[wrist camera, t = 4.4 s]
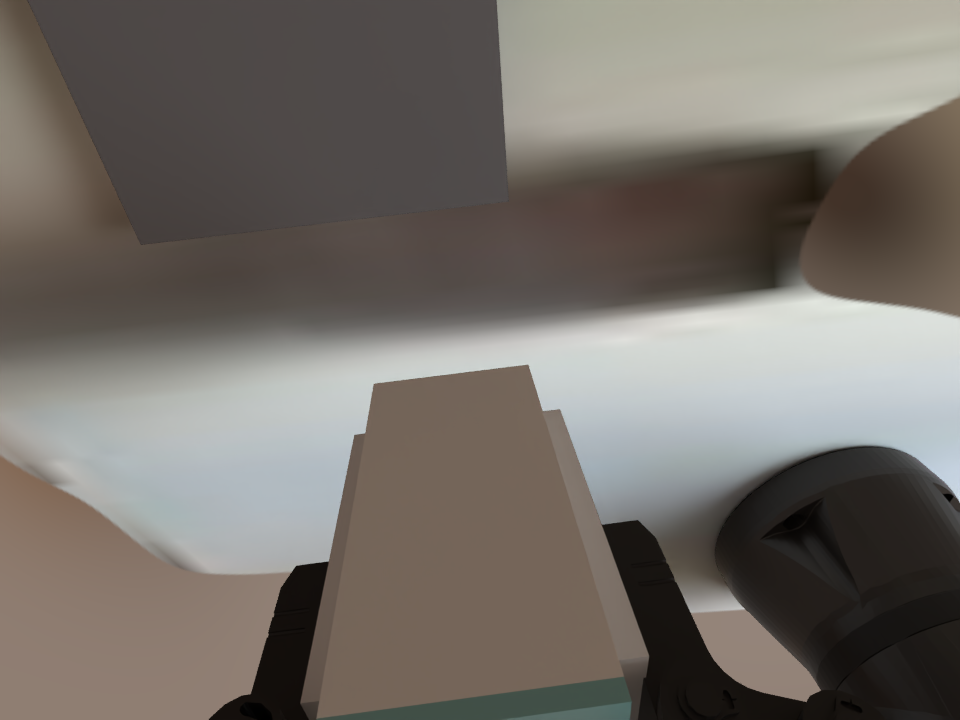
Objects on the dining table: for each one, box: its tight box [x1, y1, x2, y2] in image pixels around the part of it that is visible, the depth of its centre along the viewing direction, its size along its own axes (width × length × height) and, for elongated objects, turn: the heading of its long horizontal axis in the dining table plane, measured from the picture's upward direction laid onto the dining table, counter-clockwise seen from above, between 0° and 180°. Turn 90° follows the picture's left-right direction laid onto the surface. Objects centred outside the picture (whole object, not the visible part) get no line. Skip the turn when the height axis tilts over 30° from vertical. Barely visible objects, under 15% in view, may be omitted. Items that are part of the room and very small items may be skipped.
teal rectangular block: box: [316, 365, 632, 720], centre depth 11 cm, size 5×4×8 cm
